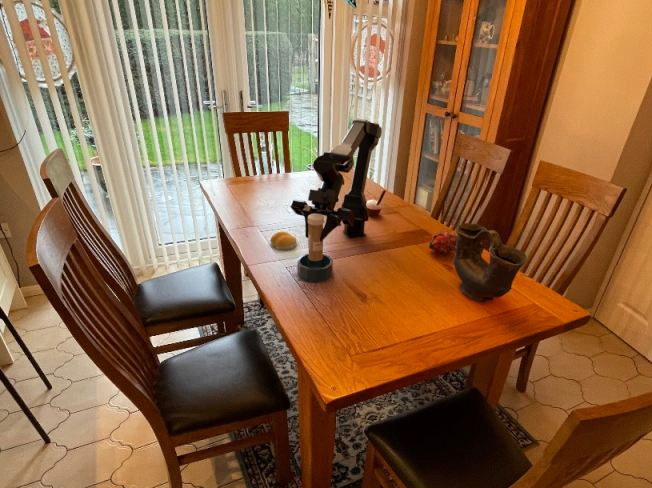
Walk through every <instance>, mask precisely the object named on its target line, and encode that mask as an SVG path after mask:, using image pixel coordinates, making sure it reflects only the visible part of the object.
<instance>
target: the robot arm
mask: <svg viewBox="0 0 652 488" xmlns="http://www.w3.org/2000/svg"><path fill="white" fill-rule="evenodd" d="M382 135H383V128H382V127H381V126H380V123H377V122H371V121H370V120H368V119H364V118H363V119H361V118H356V119H355V118H354V119H353V120H352V123H351V126H350V128H349V130H348V132H347V133H346V135H345V136H344V138H343V140H342V141H341V143H340V144H338V145H336V146H334V147H332V149H331V150H330V151H324V152H323V154H322V155H319V156H317V157H316V158H315V159H314V161H313V163H312V168H313V170H314V171H315V173H316V175H317V176H318V178H319V180H320V181H321V186H320V187H318V188H317V190H316V189H312V188H310V189H309V190H308V197H307V198H308V199H307V201H308V202H311V205H309V204H308V203H307V201H306V200H302V199H298V198H297V199H296V198H294V199H292V201H291V203H290V204H289V208H291V210H292V211H293V212H294V213H295V215H297V216H302V217H304V224H305V225H304V227H305V232H304V233H305V236H304V237H305V238H306V239H308V216H309V215H310V214H321V215H323V217H324V216H325V218H326V219H325V220H326V221H325V224H324V225H323V231H322V234H321V237H320V241H323V242H324V240H325V239H326V238H327V237H328V235H329V234H331V232H332V231H334V230H335V229H336V228H337V227H341V226H342V224H343V233H344V234H345V235H346V236H347V237H348V238H349V239H355V238H362V237H367V234H366V233H365V225H366V222H368V221H369V217H370V216H369V211H368V208H367V206H366V204H367V201H368V200H367V198H366V195H365V189H366V185H367V184H366V183H367V179H368V174H369V168H370V167H369V166H370V163H371V159H372V158H371V157H372V152H373V151H374V149H375V148H376V147H377V146H378V144H379V142H380V139H381V137H382ZM357 149H358V150H357ZM356 151H357V154H356V159H354V154H355V153H356ZM353 167H354V171H353V176H352V181H351V186H350V190H349V191H348V192H347V193H345V195H344V197H343V202H341V203H342V204H341V207H338V208H337V210H335V208H336V204H337V203H339V201H340V198H339V195H340V193H341V190H342V187H343V186H344V185H345V178H344V176H343V174H342V173H345V174H346V173H347V174H349V173H350V172H351V170H352V169H353ZM312 205H313V206H312ZM341 222H342V223H341Z"/></svg>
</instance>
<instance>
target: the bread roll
mask: <svg viewBox="0 0 652 488" xmlns="http://www.w3.org/2000/svg"><path fill="white" fill-rule="evenodd" d="M297 242H298V241H297V238H296V237H295V236H294V235H292V234H290V233H289V232H288V231H284V230H283V231H281V230H280V231H277V232H276V233H273V235H272V236H271V237H270V243H271V245H273V246H274V247H275V248H276V249H278V250H290V249H293V248H295V247H296V246H297Z"/></svg>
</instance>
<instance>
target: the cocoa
mask: <svg viewBox="0 0 652 488" xmlns="http://www.w3.org/2000/svg"><path fill="white" fill-rule="evenodd" d="M386 192H387V190H386V189H385V190H382V192H381V194H380V196H379V198H378V200H376V199H370V200H366V201H367V204H366V206H367V208H368V211H369V217H372V218H373V217H374V218H375V217H377V216H379V215H380V213H381V211H382V207H383V206H382V205H381V202H382V200H383V199H384V196H385V194H386Z"/></svg>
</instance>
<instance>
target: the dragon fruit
mask: <svg viewBox="0 0 652 488" xmlns="http://www.w3.org/2000/svg"><path fill="white" fill-rule="evenodd" d="M456 241H457V235H456V232H455V233H454V232H449V231H448V230H445V232H443V231H440V232H438V233H437V234H434V235H432V237H431V240H430V241H429V244H428V248H429V249H430V250H431V251H430V252H431V254H435V255H438V254H443V256H448V255H449V254H450V252H452V253H453V252H455V251H456V250H455V249H456Z"/></svg>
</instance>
